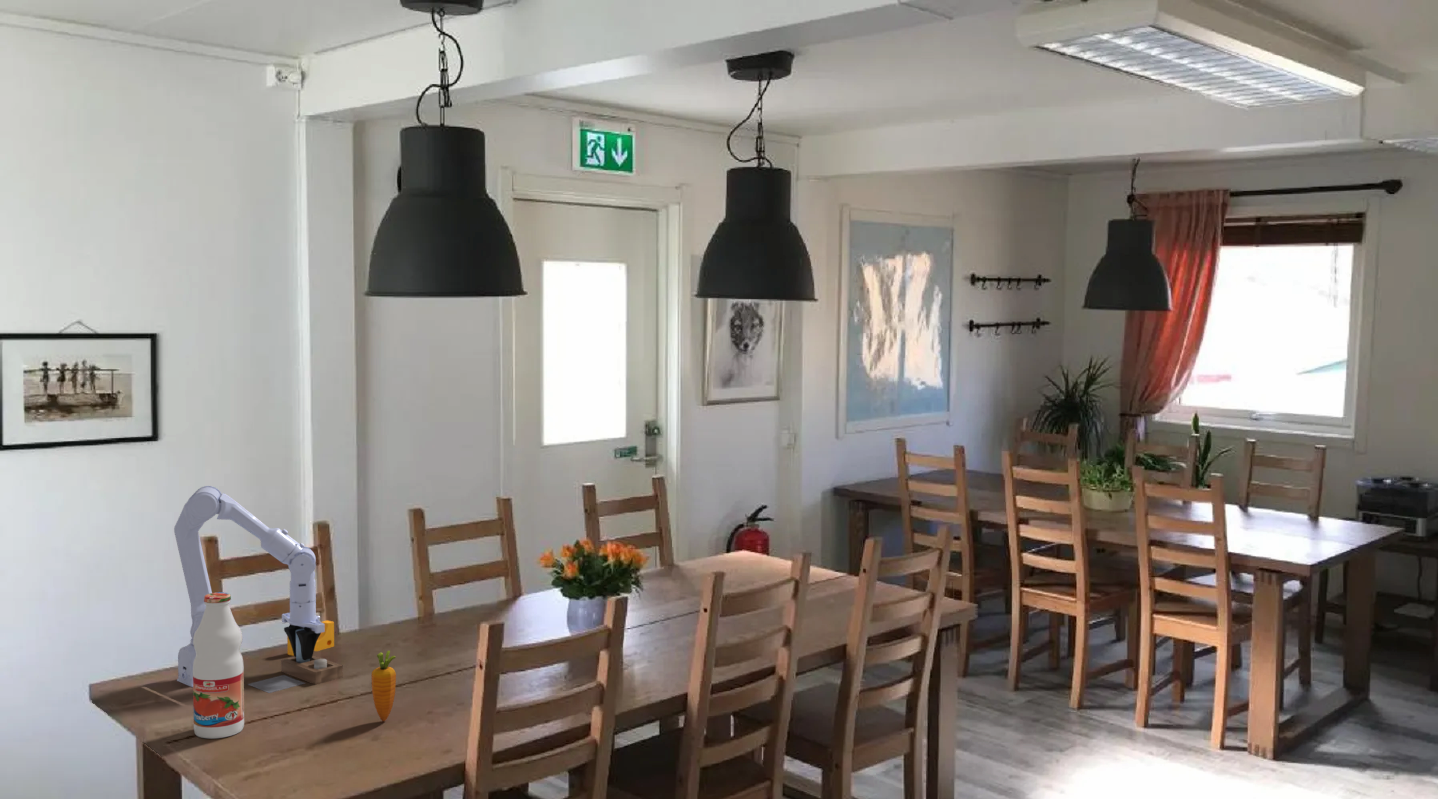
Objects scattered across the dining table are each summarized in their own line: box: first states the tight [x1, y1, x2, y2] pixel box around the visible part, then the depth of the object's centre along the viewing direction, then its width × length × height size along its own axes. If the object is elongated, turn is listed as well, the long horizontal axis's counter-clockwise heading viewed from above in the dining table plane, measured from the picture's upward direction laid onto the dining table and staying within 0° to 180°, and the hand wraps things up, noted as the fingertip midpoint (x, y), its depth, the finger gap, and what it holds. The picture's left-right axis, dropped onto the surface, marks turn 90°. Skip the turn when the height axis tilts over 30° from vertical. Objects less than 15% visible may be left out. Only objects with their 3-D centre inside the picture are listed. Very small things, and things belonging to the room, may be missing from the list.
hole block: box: [280, 654, 344, 686], centre depth 272 cm, size 7×14×4 cm, turn 52°
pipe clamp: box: [286, 619, 335, 657], centre depth 292 cm, size 12×4×6 cm, turn 148°
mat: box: [247, 674, 306, 694], centre depth 265 cm, size 9×9×1 cm
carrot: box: [371, 650, 397, 723], centre depth 244 cm, size 5×5×15 cm
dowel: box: [296, 629, 310, 663], centre depth 274 cm, size 3×3×9 cm
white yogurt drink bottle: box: [192, 591, 245, 740], centre depth 236 cm, size 9×9×28 cm
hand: (303, 657), depth 274 cm, fingers closed on dowel, 3 cm apart
